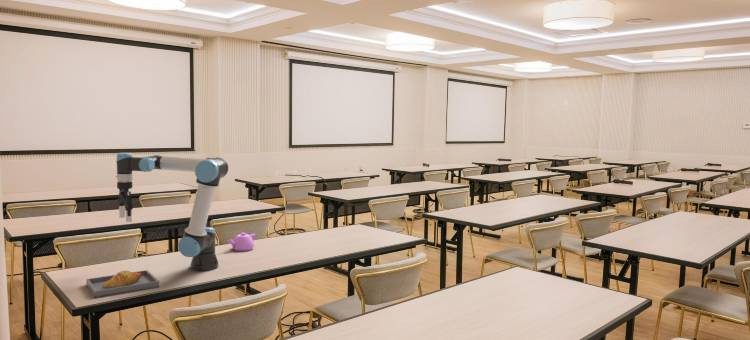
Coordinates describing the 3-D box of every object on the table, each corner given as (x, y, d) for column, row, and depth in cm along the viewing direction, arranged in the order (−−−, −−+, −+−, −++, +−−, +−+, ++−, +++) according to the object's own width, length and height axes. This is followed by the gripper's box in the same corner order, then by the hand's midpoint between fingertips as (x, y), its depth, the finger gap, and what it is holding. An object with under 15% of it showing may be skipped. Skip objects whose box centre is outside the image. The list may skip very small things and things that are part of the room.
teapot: (222, 249, 335) (222, 233, 334) (249, 244, 350) (249, 229, 349) (234, 253, 326) (234, 237, 325) (261, 248, 340) (261, 232, 339)
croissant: (106, 297, 251) (110, 285, 248) (94, 285, 255) (98, 272, 252) (144, 285, 269) (149, 273, 267) (133, 273, 273) (137, 261, 270)
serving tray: (147, 275, 279) (147, 269, 278) (159, 286, 261) (159, 281, 261) (86, 284, 261) (86, 279, 261) (94, 297, 244) (94, 291, 243)
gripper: (111, 179, 290) (112, 216, 292) (123, 184, 271) (124, 224, 273) (126, 178, 295) (126, 215, 297) (138, 183, 276) (139, 223, 278)
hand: (125, 219), depth 285 cm, fingers open, 13 cm apart
